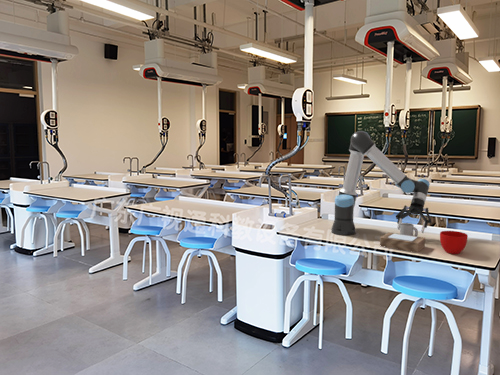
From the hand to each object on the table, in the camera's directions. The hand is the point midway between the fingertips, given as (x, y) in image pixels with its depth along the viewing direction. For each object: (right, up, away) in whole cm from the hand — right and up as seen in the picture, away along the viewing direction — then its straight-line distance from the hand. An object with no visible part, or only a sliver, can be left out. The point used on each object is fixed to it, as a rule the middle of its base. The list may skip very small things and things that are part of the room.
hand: (410, 230), depth 234 cm
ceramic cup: (+13, -9, -22) cm, 27 cm away
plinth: (-10, -8, -13) cm, 18 cm away
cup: (0, -6, +1) cm, 6 cm away
